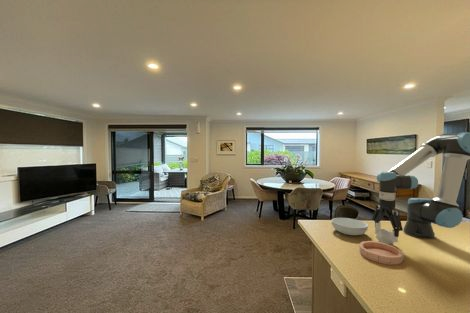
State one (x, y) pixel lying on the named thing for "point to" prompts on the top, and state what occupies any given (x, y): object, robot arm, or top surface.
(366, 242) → the tray
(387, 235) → the die
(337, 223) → the serving bowl
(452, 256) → the top surface
